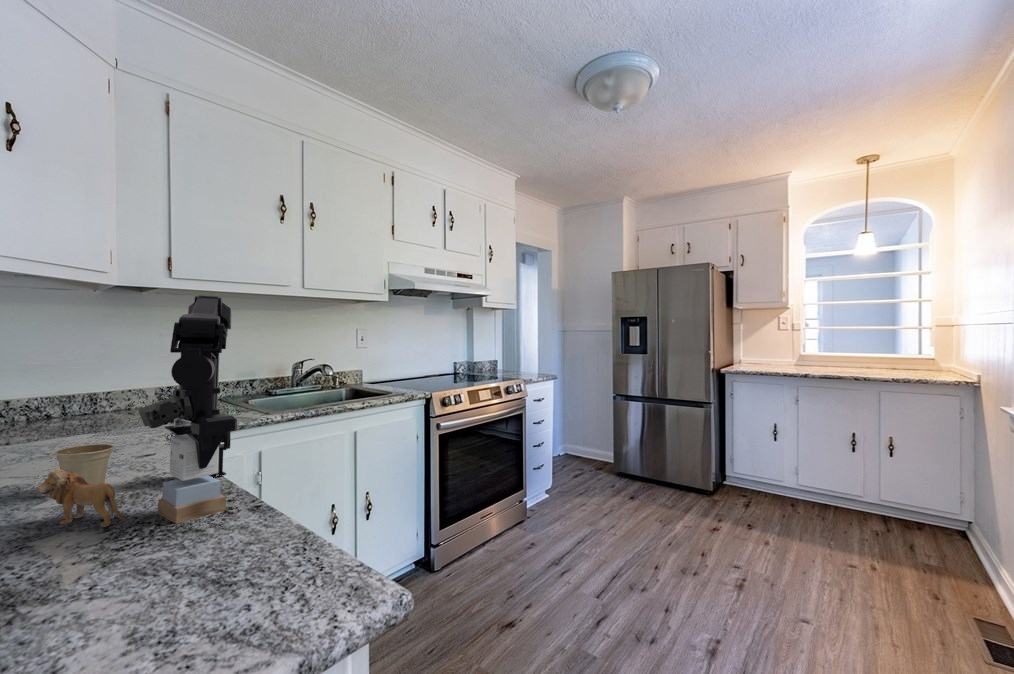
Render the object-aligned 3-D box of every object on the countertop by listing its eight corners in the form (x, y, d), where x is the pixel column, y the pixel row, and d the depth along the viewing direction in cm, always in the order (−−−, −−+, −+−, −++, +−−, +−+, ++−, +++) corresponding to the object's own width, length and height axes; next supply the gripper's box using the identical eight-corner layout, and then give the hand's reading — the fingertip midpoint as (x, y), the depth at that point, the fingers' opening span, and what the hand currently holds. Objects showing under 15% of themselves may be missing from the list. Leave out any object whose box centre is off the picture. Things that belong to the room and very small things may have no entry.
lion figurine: (28, 527, 74) (31, 473, 75) (60, 515, 80) (62, 465, 80) (116, 528, 75) (118, 475, 75) (141, 516, 80) (143, 466, 80)
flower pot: (83, 497, 89) (85, 454, 89) (38, 496, 89) (40, 453, 89) (125, 483, 98) (126, 444, 98) (83, 482, 98) (85, 443, 99)
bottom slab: (206, 503, 88) (206, 488, 88) (225, 512, 84) (226, 496, 84) (157, 515, 81) (158, 499, 81) (176, 526, 77) (176, 508, 77)
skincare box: (168, 475, 82) (169, 436, 82) (205, 467, 87) (205, 430, 87) (182, 481, 79) (183, 440, 79) (219, 473, 84) (220, 434, 84)
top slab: (205, 489, 87) (205, 474, 88) (220, 496, 83) (220, 480, 83) (162, 498, 82) (162, 482, 82) (175, 507, 78) (176, 490, 78)
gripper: (126, 382, 82) (123, 466, 81) (167, 389, 71) (164, 485, 71) (194, 379, 91) (191, 454, 91) (239, 385, 81) (237, 470, 80)
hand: (195, 465), depth 83 cm, fingers closed on skincare box, 6 cm apart
